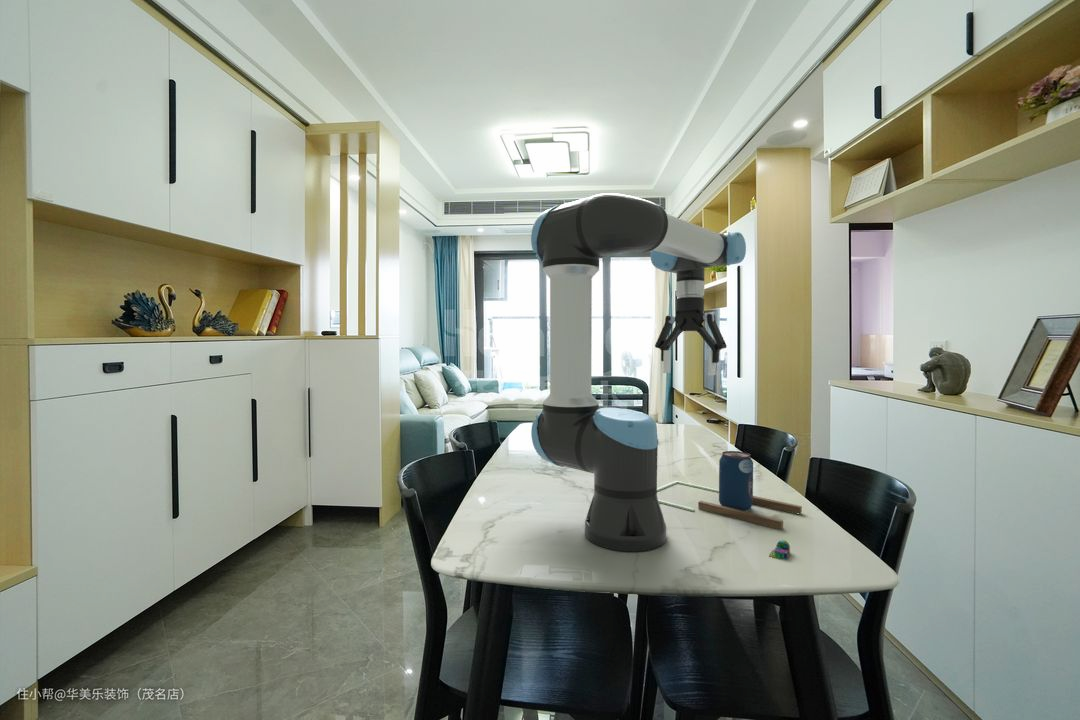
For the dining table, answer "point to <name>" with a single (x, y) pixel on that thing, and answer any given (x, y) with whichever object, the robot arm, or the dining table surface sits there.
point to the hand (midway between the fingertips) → (688, 374)
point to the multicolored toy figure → (781, 550)
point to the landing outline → (683, 484)
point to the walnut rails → (751, 516)
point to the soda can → (736, 480)
